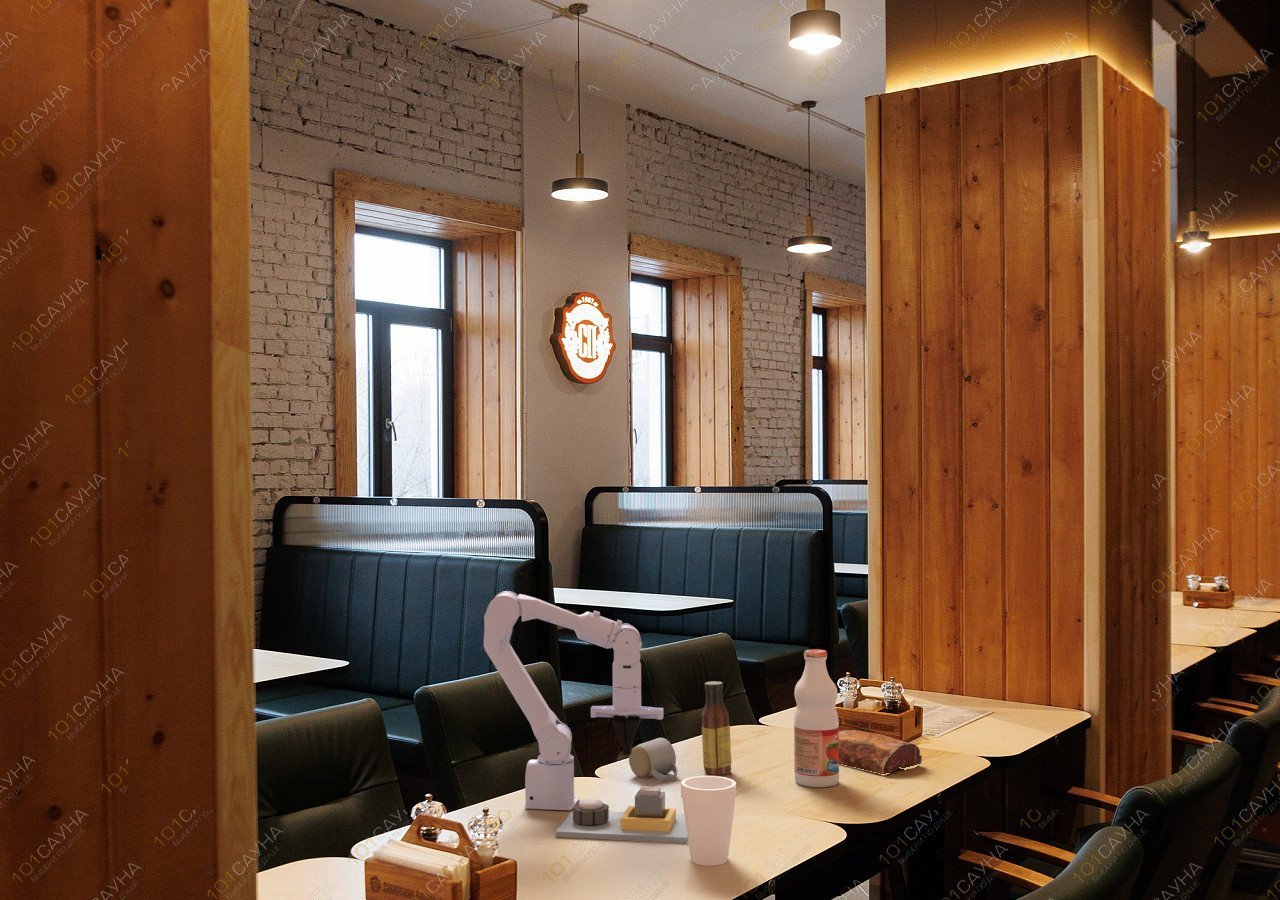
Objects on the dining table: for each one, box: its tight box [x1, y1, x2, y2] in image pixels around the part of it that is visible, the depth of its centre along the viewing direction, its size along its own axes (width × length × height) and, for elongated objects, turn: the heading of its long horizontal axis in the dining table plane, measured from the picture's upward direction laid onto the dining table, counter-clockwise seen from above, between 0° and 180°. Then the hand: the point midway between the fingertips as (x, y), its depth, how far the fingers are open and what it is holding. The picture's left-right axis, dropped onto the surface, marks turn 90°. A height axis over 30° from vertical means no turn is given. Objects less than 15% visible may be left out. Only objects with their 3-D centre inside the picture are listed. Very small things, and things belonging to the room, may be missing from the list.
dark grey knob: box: [572, 798, 610, 825], centre depth 216 cm, size 6×6×3 cm
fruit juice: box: [793, 649, 840, 788], centre depth 246 cm, size 9×9×28 cm
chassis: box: [555, 805, 688, 844], centre depth 214 cm, size 24×14×3 cm, turn 80°
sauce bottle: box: [700, 680, 733, 776], centre depth 255 cm, size 7×6×20 cm
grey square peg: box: [634, 786, 666, 819], centre depth 214 cm, size 5×4×6 cm
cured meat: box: [838, 729, 923, 774], centre depth 266 cm, size 18×25×7 cm
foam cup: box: [680, 775, 738, 867], centre depth 197 cm, size 10×9×13 cm
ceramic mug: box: [628, 737, 678, 783], centre depth 251 cm, size 11×8×8 cm
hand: (627, 754), depth 231 cm, fingers closed
